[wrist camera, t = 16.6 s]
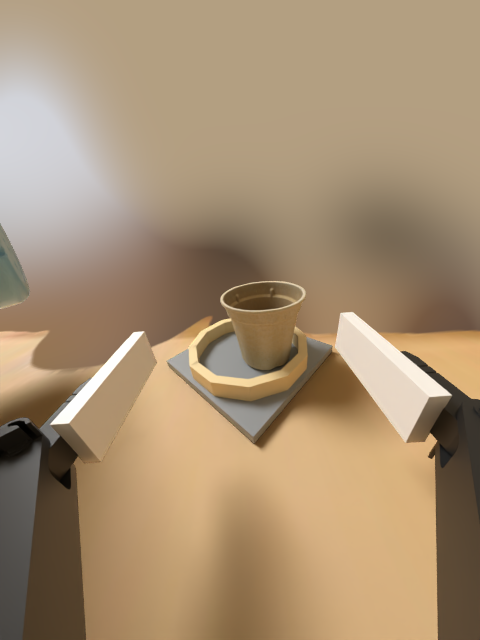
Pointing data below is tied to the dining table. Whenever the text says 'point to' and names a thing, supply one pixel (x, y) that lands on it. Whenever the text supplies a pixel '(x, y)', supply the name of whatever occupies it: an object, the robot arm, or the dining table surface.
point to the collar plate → (246, 376)
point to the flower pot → (264, 320)
